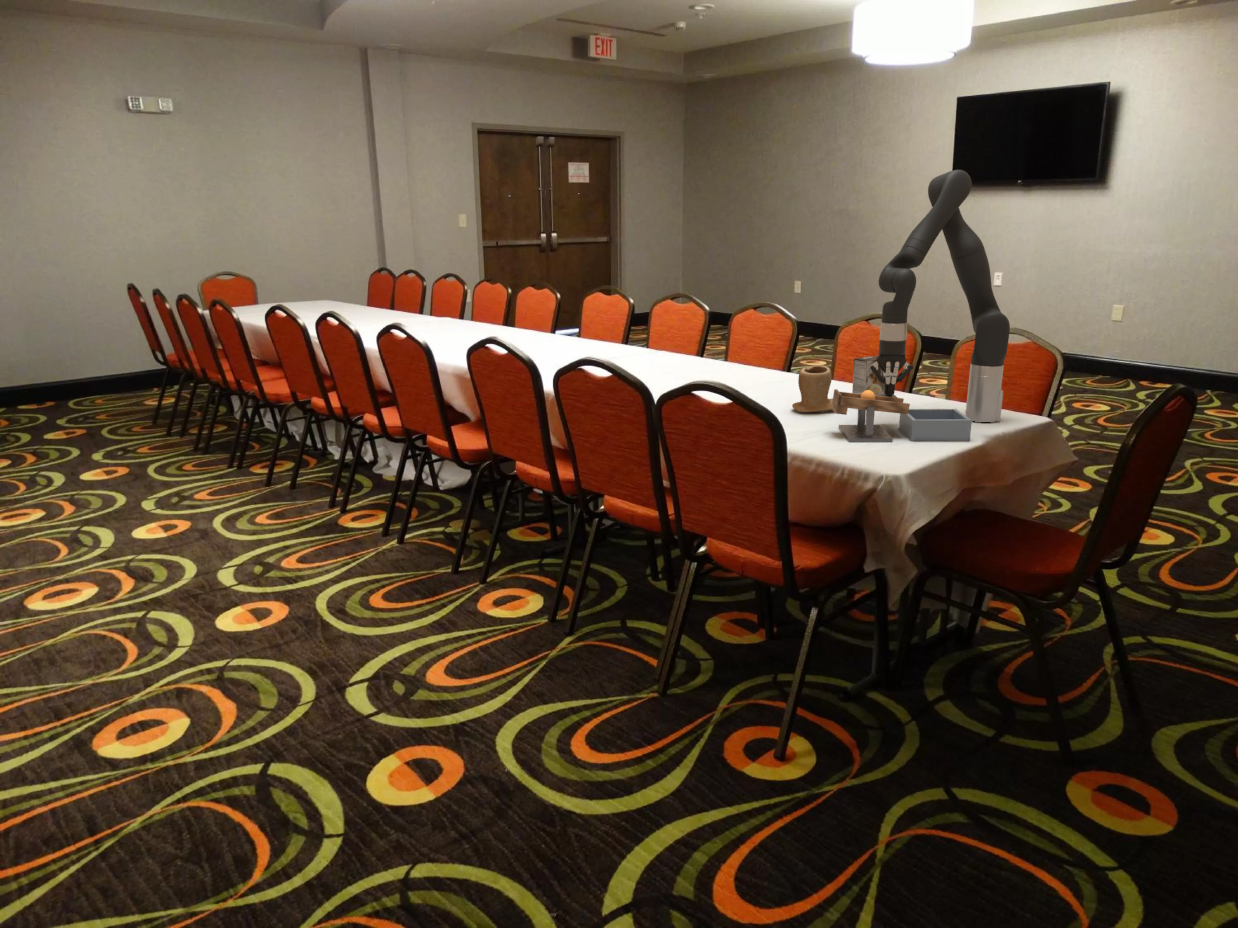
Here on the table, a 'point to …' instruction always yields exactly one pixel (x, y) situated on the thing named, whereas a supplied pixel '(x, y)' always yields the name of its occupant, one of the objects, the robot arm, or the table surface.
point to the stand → (865, 428)
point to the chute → (868, 403)
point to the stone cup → (814, 389)
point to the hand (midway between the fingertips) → (888, 396)
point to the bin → (935, 425)
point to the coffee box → (866, 376)
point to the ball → (868, 395)
